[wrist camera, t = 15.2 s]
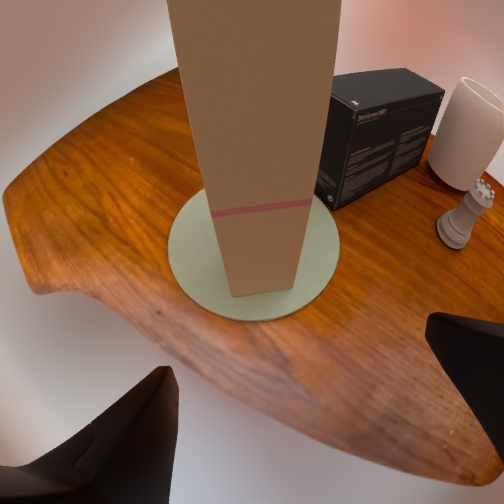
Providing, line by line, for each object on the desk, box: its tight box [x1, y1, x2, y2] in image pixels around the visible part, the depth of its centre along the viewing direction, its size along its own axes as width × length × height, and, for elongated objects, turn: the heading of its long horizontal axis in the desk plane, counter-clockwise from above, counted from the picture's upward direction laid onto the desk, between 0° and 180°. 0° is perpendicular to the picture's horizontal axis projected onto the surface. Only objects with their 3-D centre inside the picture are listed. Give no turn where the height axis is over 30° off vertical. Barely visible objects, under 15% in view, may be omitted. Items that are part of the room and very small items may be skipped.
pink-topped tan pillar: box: [167, 0, 341, 297], centre depth 14 cm, size 4×5×22 cm
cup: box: [428, 77, 504, 191], centre depth 24 cm, size 8×8×14 cm
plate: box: [168, 188, 340, 322], centre depth 26 cm, size 16×16×1 cm
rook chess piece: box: [437, 179, 494, 249], centre depth 22 cm, size 4×4×8 cm
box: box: [314, 68, 445, 210], centre depth 26 cm, size 17×7×12 cm, turn 121°
